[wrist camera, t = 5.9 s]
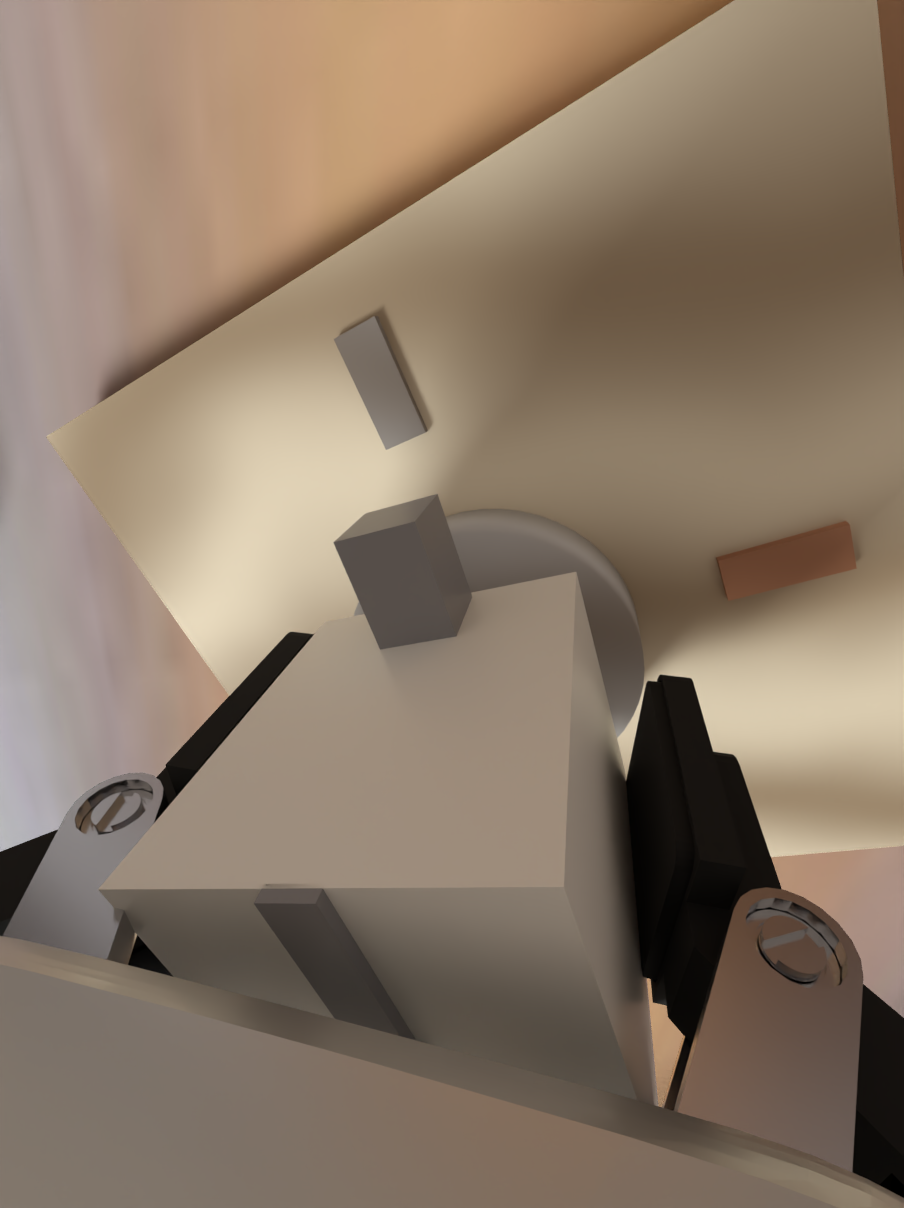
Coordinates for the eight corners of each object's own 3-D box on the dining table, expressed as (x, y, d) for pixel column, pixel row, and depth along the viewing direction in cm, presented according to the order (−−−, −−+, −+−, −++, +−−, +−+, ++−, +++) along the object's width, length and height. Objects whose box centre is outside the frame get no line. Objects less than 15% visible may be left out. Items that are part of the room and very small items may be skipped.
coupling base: (926, 795, 15) (1029, 940, 11) (380, 856, 21) (341, 960, 18) (825, -24, 8) (990, -257, 5) (92, 426, 15) (-54, 459, 12)
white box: (629, 788, 11) (666, 1196, 6) (410, 802, 13) (291, 1130, 8) (549, 460, 9) (489, 696, 3) (282, 533, 10) (-36, 764, 5)
